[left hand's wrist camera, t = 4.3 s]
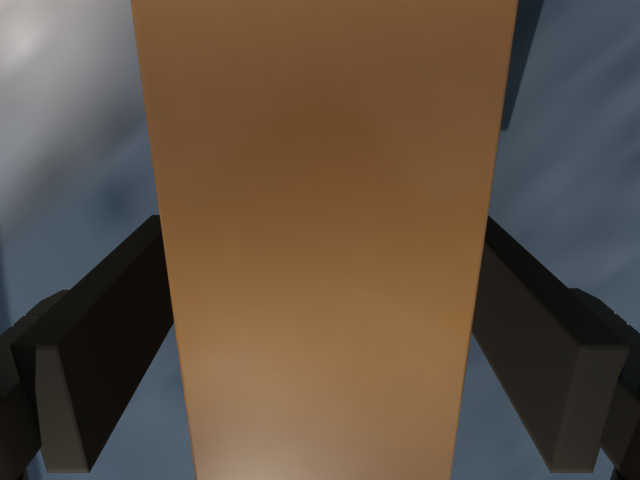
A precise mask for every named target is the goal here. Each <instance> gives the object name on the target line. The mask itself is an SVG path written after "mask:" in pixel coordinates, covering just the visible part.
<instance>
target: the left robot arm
mask: <svg viewBox="0 0 640 480" xmlns="http://www.w3.org/2000/svg"><path fill="white" fill-rule="evenodd" d="M173 323H174V316H173V309H172V302H171V294H170V287H169V280H168V272H167V265H166V258H165V250H164V243H163V236H162V228H161V221H160V215H152V216H151V217H149V218H148V219H147V220H146V221H145V222H144V223H143V224H142V225H141V226H140V227H139V228H137V229H136V230H135V231H134V232H133V233H132V234H131V235H130V236H129V237H128V238H126V239H125V240H124V241H123V242H122V243H121V244H120V245H119V246H118V247H117V248H115V249H114V250H113V251H112V252H111V253H110V254H109V255H108V256H107V257H106V258H105V259H103V260H102V261H101V262H100V263H99V264H98V265H97V266H96V267H95V268H94V269H92V270H91V271H90V272H89V273H88V274H87V275H86V276H85V277H84V278H83V279H82V280H80V281H79V282H78V283H77V284H76V285H75V286H74V287H73V288H72V289H71V290H62V291H60V292H58V293H56V294H54V295H52V296H50V297H48V298H46V299H44V300H42V301H40V302H39V303H38V304H37V305H36V306H35V307H33V308H32V309H31V310H30V311H29V312H28V313H26V316H23V317H22V318H21V319H19V320H18V321H17V322H16V323H15V324H14V327H10V328H9V329H8V330H6V331H5V332H4V333H3V334H2V335H1V336H0V480H30V479H29V476H28V472H27V469H26V467H27V466H28V464H29V463H30V462H31V460H32V459H33V457H34V456H35V455H36V453H37V452H38V451H39V449H40V450H41V453H42V457H43V460H44V463H45V467H46V470H47V473H89V472H90V471H91V469H92V467H93V465H94V464H95V462H96V460H97V458H98V456H99V455H100V453H101V451H102V449H103V448H104V446H105V444H106V442H107V440H108V439H109V437H110V435H111V433H112V432H113V430H114V428H115V426H116V424H117V423H118V421H119V419H120V417H121V415H122V414H123V412H124V410H125V408H126V407H127V405H128V403H129V401H130V399H131V398H132V396H133V394H134V392H135V391H136V389H137V387H138V385H139V383H140V382H141V380H142V378H143V376H144V375H145V373H146V371H147V369H148V367H149V366H150V364H151V362H152V360H153V358H154V357H155V355H156V353H157V351H158V350H159V348H160V346H161V344H162V342H163V341H164V339H165V337H166V335H167V334H168V332H169V330H170V328H171V326H172V325H173ZM626 323H627V322H626V321H624V320H623V319H622V318H621V317H620V316H618V315H617V314H614V311H613V310H611V309H610V308H609V307H608V306H607V305H606V304H604V303H603V302H602V301H601V300H600V299H598V298H596V297H594V296H592V295H590V294H588V293H586V292H584V291H582V290H580V289H578V288H567V287H566V286H565V285H564V284H563V283H562V282H561V281H560V280H558V279H557V278H556V277H555V276H554V275H553V274H552V273H551V272H550V271H549V270H548V269H546V268H545V267H544V266H543V265H542V264H541V263H540V262H539V261H538V260H537V259H535V258H534V257H533V256H532V255H531V254H530V253H529V252H528V251H527V250H526V249H524V248H523V247H522V246H521V245H520V244H519V243H518V242H517V241H516V240H515V239H514V238H512V237H511V236H510V235H509V234H508V233H507V232H506V231H505V230H504V229H503V228H501V227H500V226H499V225H498V224H497V223H496V222H495V221H494V220H493V219H492V218H491V217H489V216H488V218H487V225H486V232H485V239H484V246H483V253H482V260H481V267H480V274H479V281H478V288H477V295H476V302H475V309H474V316H473V323H472V330H471V332H472V334H473V335H474V337H475V339H476V341H477V342H478V344H479V346H480V348H481V350H482V351H483V353H484V355H485V357H486V359H487V360H488V362H489V364H490V366H491V367H492V369H493V371H494V373H495V375H496V376H497V378H498V380H499V382H500V383H501V385H502V387H503V389H504V391H505V392H506V394H507V396H508V398H509V399H510V401H511V403H512V405H513V407H514V408H515V410H516V412H517V414H518V415H519V417H520V419H521V421H522V423H523V424H524V426H525V428H526V430H527V432H528V433H529V435H530V437H531V439H532V440H533V442H534V444H535V446H536V448H537V449H538V451H539V453H540V455H541V456H542V458H543V460H544V462H545V464H546V465H547V467H548V469H549V471H550V472H551V473H593V470H594V467H595V463H596V460H597V456H598V453H599V450H600V447H601V448H602V449H603V451H604V452H605V454H606V455H607V456H608V458H609V459H610V460H611V462H612V463H613V465H614V469H613V472H612V476H611V479H610V480H640V333H638V332H637V331H636V330H635V329H634V328H633V327H631V326H630V325H627V324H626Z"/></svg>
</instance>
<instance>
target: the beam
mask: <svg viewBox="0 0 640 480" xmlns="http://www.w3.org/2000/svg"><path fill="white" fill-rule="evenodd" d="M518 1H519V0H131V8H132V15H133V22H134V30H135V37H136V45H137V52H138V59H139V67H140V74H141V81H142V89H143V96H144V103H145V111H146V118H147V125H148V133H149V140H150V147H151V155H152V162H153V169H154V177H155V184H156V191H157V199H158V206H159V214H160V221H161V228H162V236H163V243H164V250H165V258H166V265H167V272H168V280H169V287H170V294H171V302H172V309H173V316H174V324H175V331H176V338H177V346H178V353H179V361H180V368H181V375H182V383H183V390H184V397H185V405H186V412H187V419H188V427H189V434H190V441H191V449H192V456H193V463H194V471H195V478H196V480H450V478H451V471H452V464H453V457H454V450H455V443H456V436H457V429H458V422H459V415H460V408H461V401H462V394H463V387H464V380H465V372H466V365H467V358H468V351H469V344H470V337H471V330H472V323H473V316H474V309H475V302H476V295H477V288H478V281H479V274H480V267H481V260H482V253H483V246H484V239H485V232H486V225H487V218H488V211H489V204H490V197H491V190H492V183H493V176H494V169H495V162H496V155H497V148H498V141H499V134H500V127H501V120H502V113H503V106H504V99H505V92H506V85H507V78H508V71H509V64H510V57H511V50H512V43H513V36H514V29H515V22H516V15H517V8H518Z"/></svg>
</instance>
